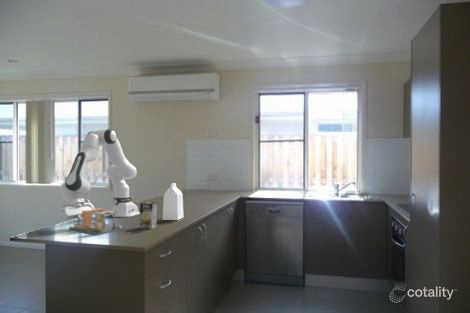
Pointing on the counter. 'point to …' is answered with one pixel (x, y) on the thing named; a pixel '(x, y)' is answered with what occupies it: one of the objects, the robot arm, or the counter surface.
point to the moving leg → (89, 216)
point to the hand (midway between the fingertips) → (84, 221)
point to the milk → (173, 204)
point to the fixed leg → (98, 222)
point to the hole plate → (107, 229)
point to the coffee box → (148, 215)
